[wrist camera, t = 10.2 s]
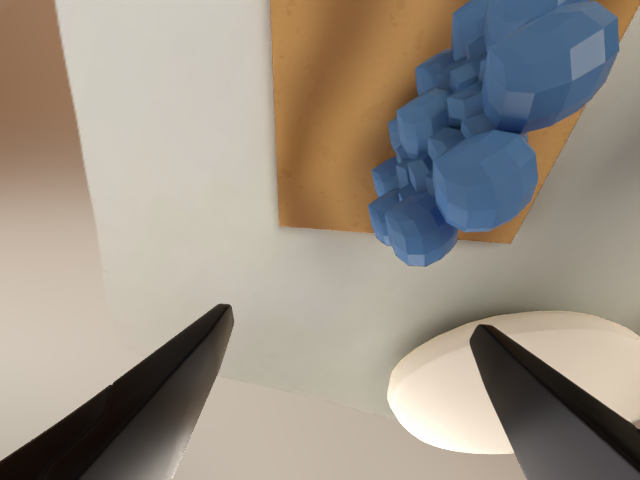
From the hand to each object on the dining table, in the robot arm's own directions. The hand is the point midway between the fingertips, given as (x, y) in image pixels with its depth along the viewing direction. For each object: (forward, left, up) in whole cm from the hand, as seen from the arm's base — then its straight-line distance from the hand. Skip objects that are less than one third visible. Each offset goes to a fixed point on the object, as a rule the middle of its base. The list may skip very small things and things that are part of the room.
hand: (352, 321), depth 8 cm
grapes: (-5, -6, -12) cm, 14 cm away
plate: (-22, +21, -13) cm, 33 cm away
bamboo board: (-5, -6, -13) cm, 15 cm away
